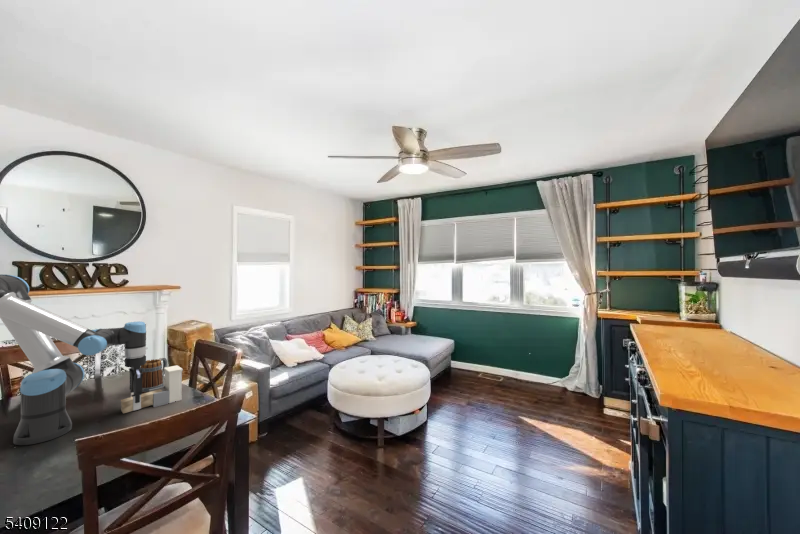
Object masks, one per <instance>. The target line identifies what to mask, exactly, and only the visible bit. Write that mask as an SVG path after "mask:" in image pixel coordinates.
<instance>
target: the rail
mask: <svg viewBox="0 0 800 534" xmlns="http://www.w3.org/2000/svg"><path fill="white" fill-rule="evenodd" d="M162 391H166V389H165V388H160V389H158V390H155V391H151V392H147V393H144V394H141V409H143V408H147V407H149V406H152V405H153V394H154V393H158V392H162ZM120 408H121V409H120V410H121V412H122V414H127V413H130V412H134V411H133V397H131V396H130V397H127V398H124V399H123V398H122V399H120Z"/></svg>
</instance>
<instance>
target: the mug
mask: <svg viewBox="0 0 800 534" xmlns="http://www.w3.org/2000/svg"><path fill="white" fill-rule="evenodd" d="M165 367H168V359H167V358H166V357H159V358H157V359H146V363H145V364H144V365H141V366H140V368H141V369H142V373H143V375H142V394H144V393H147V392H149V390H150V389H154V388H158V387H163V386H165V379H163V377H165V370H164V368H165Z"/></svg>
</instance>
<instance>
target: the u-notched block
mask: <svg viewBox="0 0 800 534" xmlns="http://www.w3.org/2000/svg"><path fill="white" fill-rule="evenodd" d="M164 370H165V374H164V386H163V387H158V388H154V389H150V390H149V392H151V391H155V390H158V389H160V388H165V389H166V391H162V392H158V393H154V394H153V405H151V406H152V408H156V407H161V406H165V405H168V403H169V404H171V403H175V401H176V402H179V401H180V402H181V401H182V399H183V398H182V397H183V395H182V394H183V391H182V389H183V383H182V382H183V379H182V377H183V372H184V371H183V370H184V369H183V368H182V367H180V366H179V365H172V366H167V367H165V368H164Z"/></svg>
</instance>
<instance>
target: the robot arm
mask: <svg viewBox="0 0 800 534" xmlns="http://www.w3.org/2000/svg"><path fill="white" fill-rule="evenodd" d="M29 293H30V286H29V284H28V283H27V281H25V279H23V278H22V277H19V276H16V275H11V274H0V319H1V321H2V323H3V324H4V325H5V327H6V329H7V330H8V332H9V333H10V335H11V336H12V337H13V339H14V340H15V342H16V343H17V345H18V346H19V347H20V349H21V350H22V351H23V353H24V355H25V357H27V359H28V360H29V362H30V363H31V365H32V366H33V370H32V372H31V374H27V375H26V376H25V377H24V378H23V379H22V381H21V383H20V388H19V391H20V421H19V423H18V426H17V427H16V430H15V432H14V434H13V439H12V440H13V441H12V442H13V444H14V445H15V446H16V445H17V446H28V445H29V446H30V445H35V444H39V443H40V444H41V443H44V442H48V441H51V440H54V439H57V438H59V437H62V436H63V435H65V434H67V433H69V432H70V431H71V430H72V429H73V422H72V419H71V417H70V415H69V414H68V411H67V410H66V405H67V404H66V403H67V400H66V399H67V398H66V397H67V395H69V394H70V393H72V392H73V391H75V389H77V388H78V387H79V386H80V385H81V383H82V382H83V381H84V379H85V375H86V374H85V370H84V367H82V366H81V364H78V363H76V362H73V360H72V358H71V357H70V356H66V355H63V354H62V353H61V351H60V349H59V348H58V347H57V345H56V344H55V343H54V341H53V339H52V338H54V339H56V340H58V341H60V342H63V343H65V344H68V345H70V346H72V347H75V348H77V349H78V351H79V353H80V354H82V355H84V356H94V355H97V354H99V353H102V352H103V351H104V350H105V349H107V348H109V347H110V346H111V347H112V346H121V345H124V350H123V351H124V367H126V368H129V369H128V370H129V371H128V373H129V391H130V397H133V411H132V412H134V411H137V410H141V409H142V408H141V394H142V375H143V373H142V369H141V368H140V367H141V365H144V364H145V363H146V361H147V355H146V354H147V350H148V347H147V340H146V339H147V328H146V327H147V326H146V322H144V321H131V322H130V321H129V322H126V323H125V324H124V325H123V327H112V328H111V327H109V328H97V329H89V328H88V327H85V326H83V325H81V324H79V323H76V322H74V321H72V320H69V318H68V319H67V318H65V317H63V316H61V315H58V314H56V313H54V312H51V311H50V310H47V309H45V308H42V307H40V306H38V305H36V304H33V303H32V301H33V300H32V298H31V296H30V295H29Z"/></svg>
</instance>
